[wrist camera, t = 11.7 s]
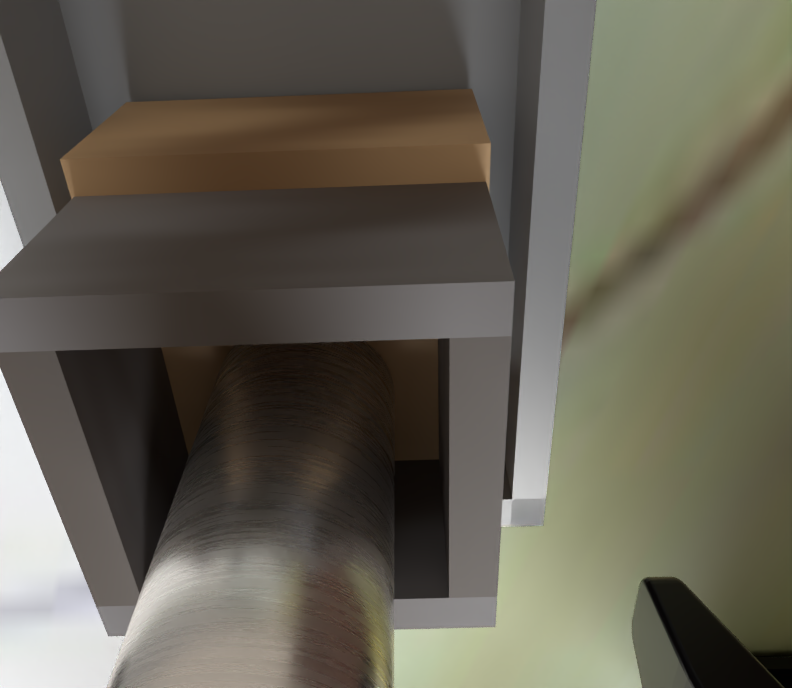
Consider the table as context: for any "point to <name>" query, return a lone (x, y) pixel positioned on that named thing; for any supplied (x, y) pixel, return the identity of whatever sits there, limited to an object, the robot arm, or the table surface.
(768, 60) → the table surface
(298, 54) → the bay
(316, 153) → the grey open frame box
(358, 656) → the handle peg
